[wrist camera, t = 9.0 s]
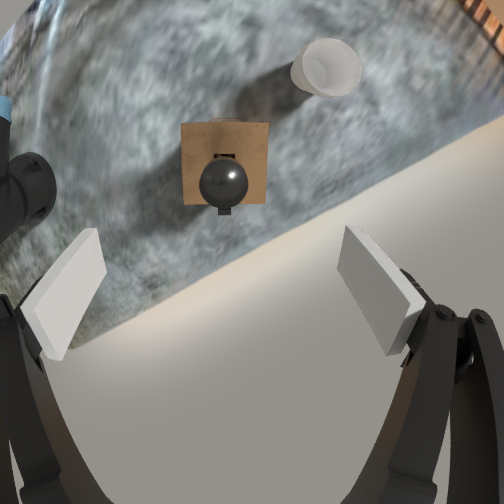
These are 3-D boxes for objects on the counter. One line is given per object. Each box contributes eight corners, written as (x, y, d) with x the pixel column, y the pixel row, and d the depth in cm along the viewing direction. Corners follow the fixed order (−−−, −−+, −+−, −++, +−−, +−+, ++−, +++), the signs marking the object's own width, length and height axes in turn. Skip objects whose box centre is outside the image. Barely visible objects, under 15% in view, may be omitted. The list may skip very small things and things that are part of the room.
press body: (195, 190, 49) (185, 224, 36) (194, 118, 43) (180, 123, 30) (253, 190, 50) (264, 223, 37) (256, 118, 44) (268, 123, 31)
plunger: (201, 174, 44) (183, 225, 26) (200, 127, 40) (179, 144, 22) (248, 173, 44) (264, 224, 27) (249, 127, 41) (268, 144, 23)
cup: (316, 108, 44) (342, 110, 33) (273, 79, 41) (288, 71, 30) (342, 70, 40) (373, 64, 30) (300, 41, 37) (322, 25, 27)
